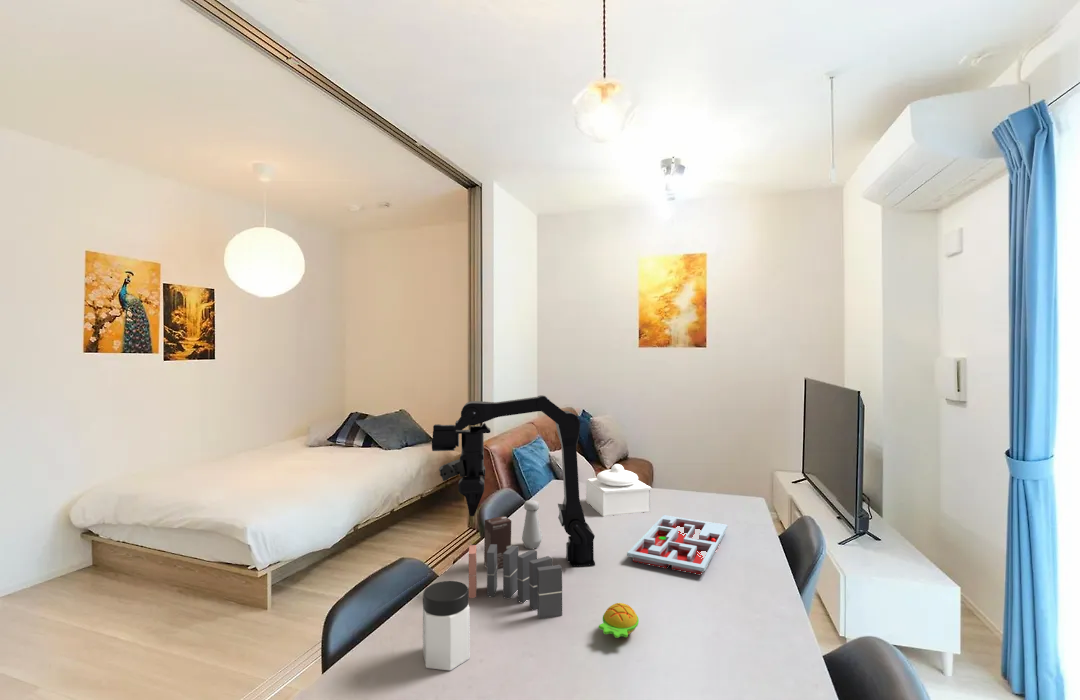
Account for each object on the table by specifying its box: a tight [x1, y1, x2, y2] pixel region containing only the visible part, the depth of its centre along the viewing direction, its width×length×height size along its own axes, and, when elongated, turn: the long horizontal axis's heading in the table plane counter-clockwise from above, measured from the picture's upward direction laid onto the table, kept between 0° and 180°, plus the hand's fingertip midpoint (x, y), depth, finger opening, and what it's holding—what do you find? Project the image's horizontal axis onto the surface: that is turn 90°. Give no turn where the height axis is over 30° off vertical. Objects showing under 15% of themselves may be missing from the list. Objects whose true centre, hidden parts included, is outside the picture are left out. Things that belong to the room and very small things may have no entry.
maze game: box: [626, 514, 729, 575], centre depth 140 cm, size 35×20×3 cm, turn 150°
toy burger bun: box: [598, 602, 640, 639], centre depth 96 cm, size 7×10×5 cm
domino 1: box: [468, 544, 478, 599], centre depth 114 cm, size 2×5×10 cm, turn 6°
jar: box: [422, 580, 471, 671], centre depth 90 cm, size 9×8×12 cm
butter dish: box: [585, 463, 653, 517], centre depth 178 cm, size 18×18×16 cm
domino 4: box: [517, 549, 538, 604], centre depth 111 cm, size 2×5×10 cm, turn 141°
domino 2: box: [486, 544, 498, 598], centre depth 115 cm, size 2×5×10 cm, turn 176°
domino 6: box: [536, 564, 563, 620], centre depth 104 cm, size 2×5×10 cm, turn 105°
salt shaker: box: [521, 499, 543, 550], centre depth 142 cm, size 6×6×13 cm
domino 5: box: [528, 555, 553, 611], centre depth 108 cm, size 2×5×10 cm, turn 123°
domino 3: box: [502, 545, 519, 599], centre depth 114 cm, size 2×5×10 cm, turn 159°
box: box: [483, 515, 512, 570], centre depth 129 cm, size 6×4×12 cm
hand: (472, 510), depth 128 cm, fingers open, 9 cm apart
